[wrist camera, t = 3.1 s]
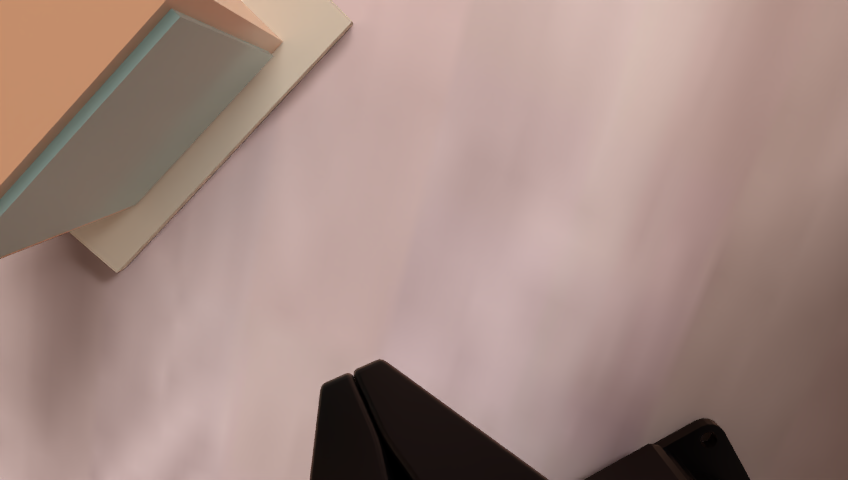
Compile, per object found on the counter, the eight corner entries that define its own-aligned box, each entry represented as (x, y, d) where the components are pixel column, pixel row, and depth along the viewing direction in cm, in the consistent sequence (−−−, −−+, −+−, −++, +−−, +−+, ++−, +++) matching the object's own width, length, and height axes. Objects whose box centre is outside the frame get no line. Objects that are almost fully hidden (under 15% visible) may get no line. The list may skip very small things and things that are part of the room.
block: (287, 46, 18) (192, -10, 9) (134, 212, 19) (-92, 306, 10) (218, -22, 18) (49, -147, 9) (63, 149, 18) (-237, 190, 10)
